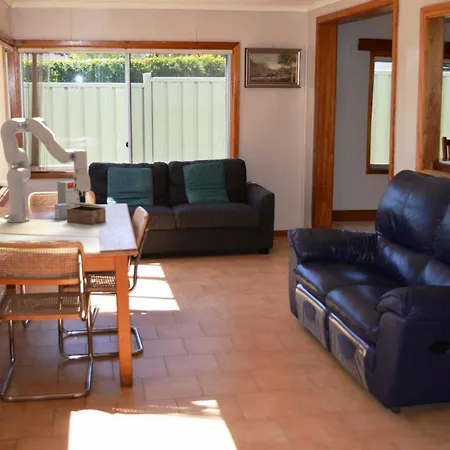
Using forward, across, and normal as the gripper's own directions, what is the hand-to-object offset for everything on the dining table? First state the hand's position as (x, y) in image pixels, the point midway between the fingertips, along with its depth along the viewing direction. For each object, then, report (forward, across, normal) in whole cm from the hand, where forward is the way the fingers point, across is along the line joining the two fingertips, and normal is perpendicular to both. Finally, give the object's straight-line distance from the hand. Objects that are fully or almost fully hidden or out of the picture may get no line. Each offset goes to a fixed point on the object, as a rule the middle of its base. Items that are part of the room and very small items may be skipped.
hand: (82, 202), depth 417 cm
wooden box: (+12, +4, +1) cm, 13 cm away
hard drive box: (+12, +25, +32) cm, 42 cm away
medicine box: (+12, +5, +21) cm, 25 cm away
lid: (+2, +4, +1) cm, 5 cm away
